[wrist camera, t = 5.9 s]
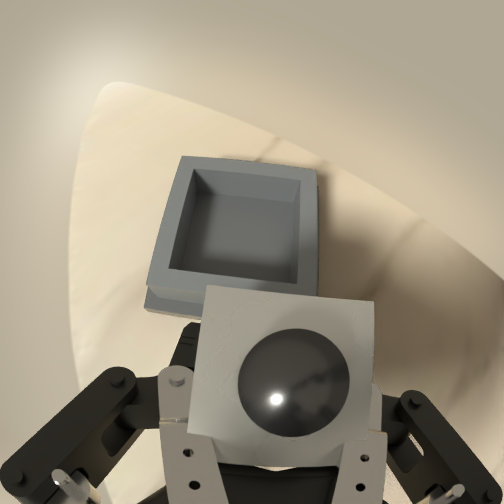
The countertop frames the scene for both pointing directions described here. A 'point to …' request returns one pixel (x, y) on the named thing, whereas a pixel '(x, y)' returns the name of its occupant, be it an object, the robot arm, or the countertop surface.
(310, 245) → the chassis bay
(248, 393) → the knobbed grey block
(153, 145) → the countertop surface
